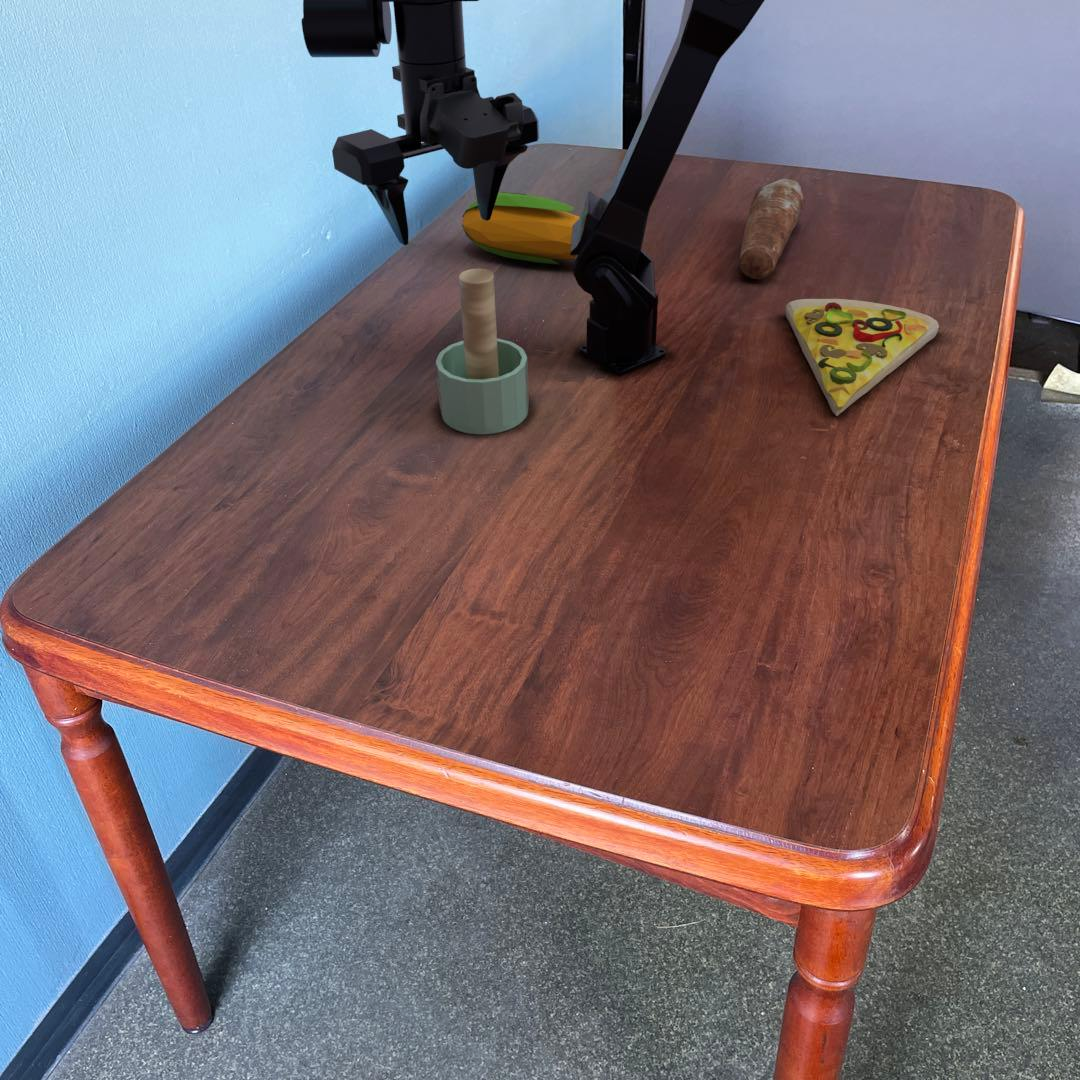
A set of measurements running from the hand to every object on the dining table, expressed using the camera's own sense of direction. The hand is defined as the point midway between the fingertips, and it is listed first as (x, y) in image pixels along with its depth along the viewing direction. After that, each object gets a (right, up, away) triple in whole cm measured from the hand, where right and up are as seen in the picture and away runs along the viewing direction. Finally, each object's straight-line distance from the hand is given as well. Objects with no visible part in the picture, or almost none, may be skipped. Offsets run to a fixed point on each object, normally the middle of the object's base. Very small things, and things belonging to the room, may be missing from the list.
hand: (445, 231), depth 102 cm
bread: (+36, +5, +26) cm, 45 cm away
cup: (+4, -17, -1) cm, 18 cm away
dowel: (+4, -17, -1) cm, 17 cm away
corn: (+9, +4, +26) cm, 28 cm away
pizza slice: (+39, -12, +5) cm, 42 cm away
